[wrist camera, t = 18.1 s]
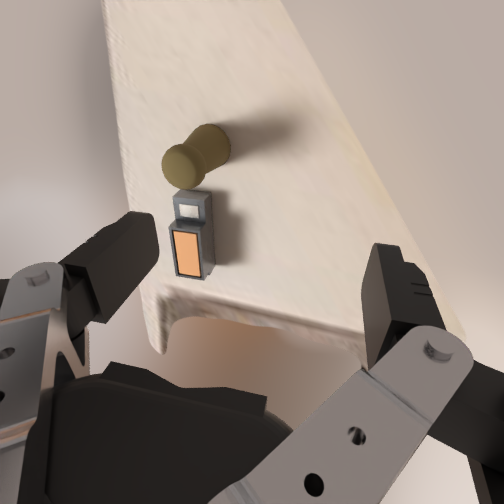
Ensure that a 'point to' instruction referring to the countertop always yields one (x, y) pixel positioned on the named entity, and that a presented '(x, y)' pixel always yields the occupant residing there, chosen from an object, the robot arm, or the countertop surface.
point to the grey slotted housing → (194, 227)
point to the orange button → (187, 252)
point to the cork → (196, 156)
